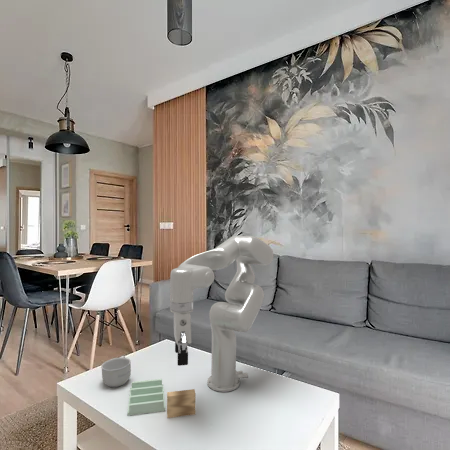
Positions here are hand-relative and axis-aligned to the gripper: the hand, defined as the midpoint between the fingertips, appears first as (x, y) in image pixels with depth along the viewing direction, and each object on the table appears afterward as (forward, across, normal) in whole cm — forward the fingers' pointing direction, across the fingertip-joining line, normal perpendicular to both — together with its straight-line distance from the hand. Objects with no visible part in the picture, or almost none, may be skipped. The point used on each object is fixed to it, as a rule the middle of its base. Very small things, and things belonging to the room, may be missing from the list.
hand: (181, 358), depth 102 cm
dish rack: (+18, +10, +11) cm, 24 cm away
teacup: (+18, +26, +22) cm, 39 cm away
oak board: (+18, 0, 0) cm, 18 cm away
